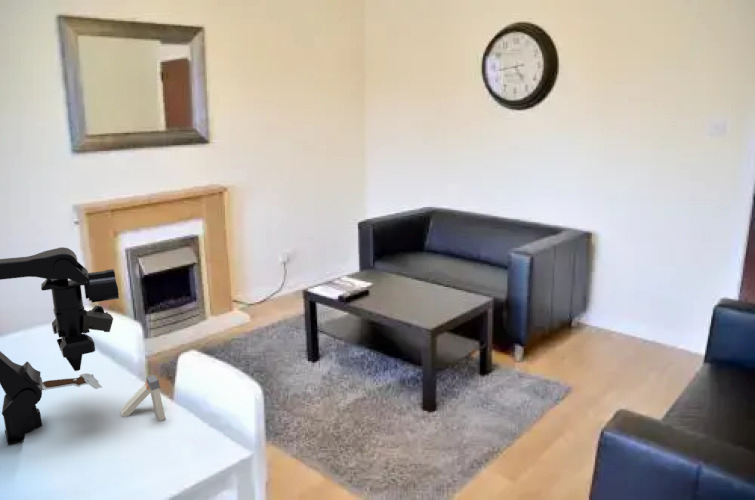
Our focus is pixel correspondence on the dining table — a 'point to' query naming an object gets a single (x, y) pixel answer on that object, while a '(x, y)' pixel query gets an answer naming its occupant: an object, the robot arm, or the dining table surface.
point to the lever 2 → (156, 396)
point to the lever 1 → (135, 400)
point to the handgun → (72, 382)
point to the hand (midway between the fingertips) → (77, 370)
